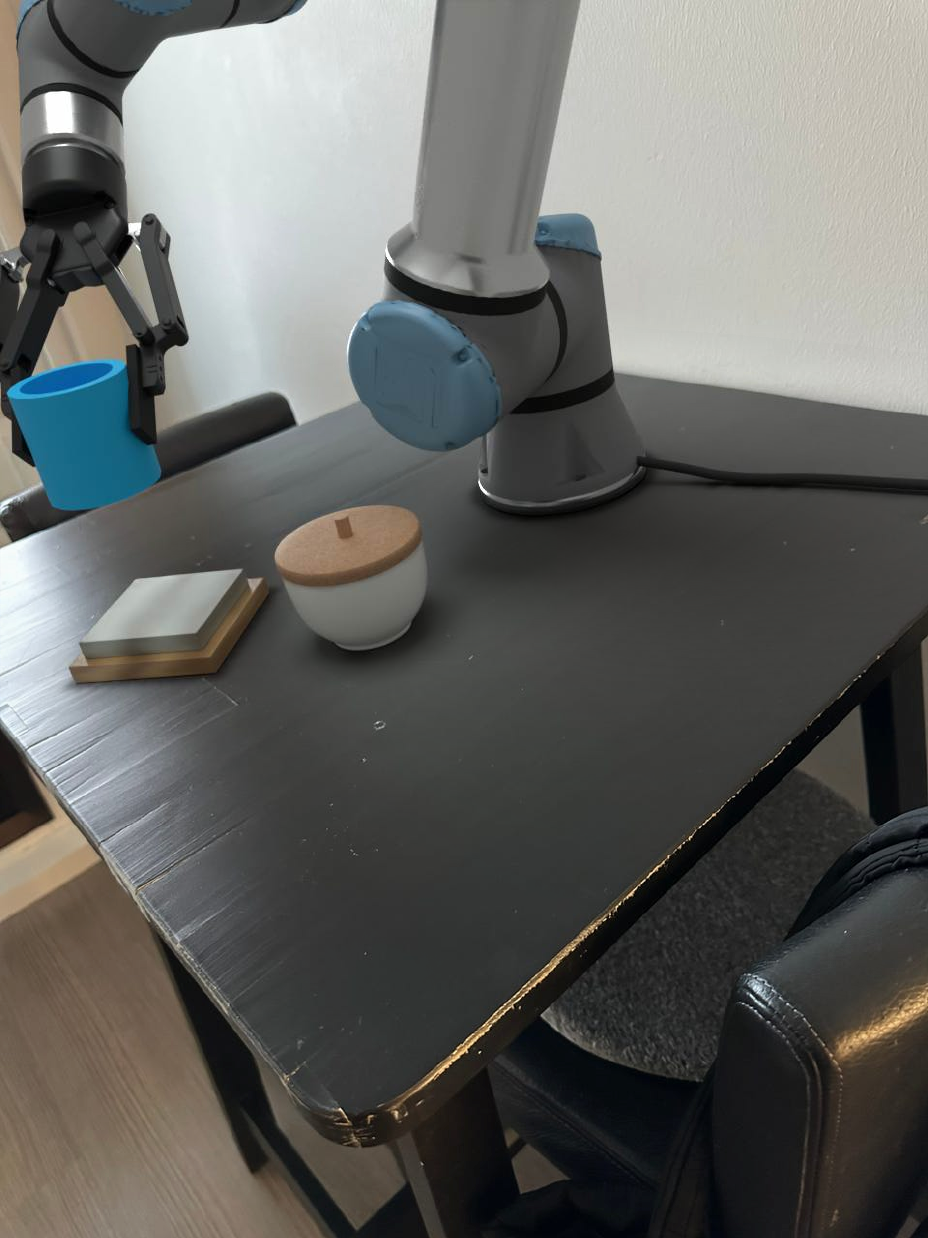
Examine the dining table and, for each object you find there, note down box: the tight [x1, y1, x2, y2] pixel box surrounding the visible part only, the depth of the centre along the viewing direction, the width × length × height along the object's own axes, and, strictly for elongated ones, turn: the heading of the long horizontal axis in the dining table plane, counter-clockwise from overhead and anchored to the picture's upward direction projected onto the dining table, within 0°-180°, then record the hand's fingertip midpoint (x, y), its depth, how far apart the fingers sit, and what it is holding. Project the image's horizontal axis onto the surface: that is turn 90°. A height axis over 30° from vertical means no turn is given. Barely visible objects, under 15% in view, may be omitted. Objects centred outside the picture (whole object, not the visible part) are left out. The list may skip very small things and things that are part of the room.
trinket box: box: [273, 504, 428, 651], centre depth 75 cm, size 11×11×9 cm
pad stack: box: [68, 568, 270, 684], centre depth 82 cm, size 12×12×3 cm
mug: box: [7, 358, 162, 511], centre depth 75 cm, size 12×8×8 cm
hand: (85, 447), depth 72 cm, fingers closed on mug, 8 cm apart
